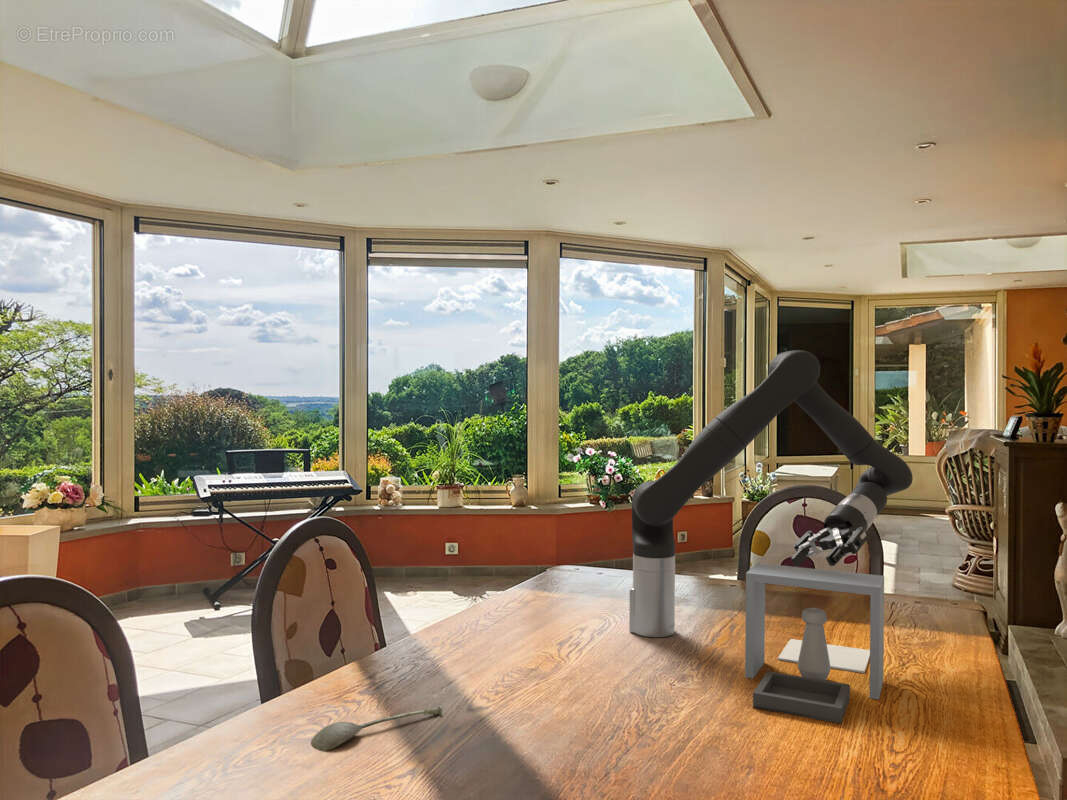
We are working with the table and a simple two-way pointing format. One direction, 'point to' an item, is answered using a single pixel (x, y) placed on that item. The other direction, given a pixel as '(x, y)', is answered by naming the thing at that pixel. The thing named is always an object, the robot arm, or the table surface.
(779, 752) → the table surface
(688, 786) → the table surface
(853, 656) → the pad
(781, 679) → the pit box
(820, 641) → the salt shaker
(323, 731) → the soupspoon
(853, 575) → the gate
